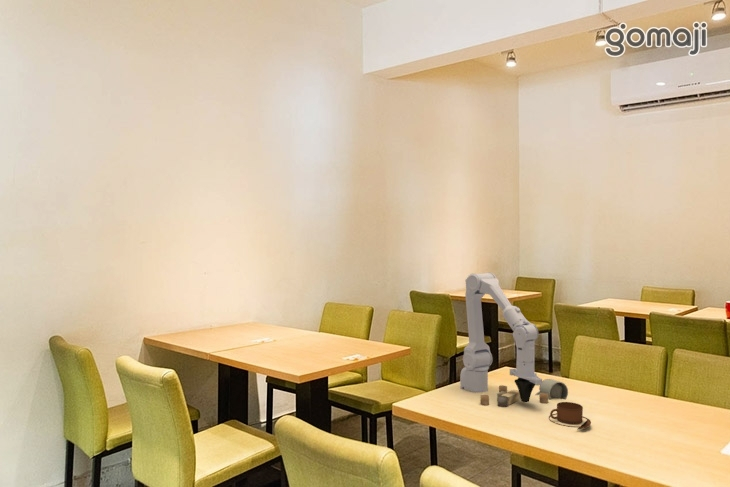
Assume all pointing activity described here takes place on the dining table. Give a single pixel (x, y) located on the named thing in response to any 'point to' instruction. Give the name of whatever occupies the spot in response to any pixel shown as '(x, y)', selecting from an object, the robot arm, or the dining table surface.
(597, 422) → the dining table surface
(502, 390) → the small brown blocks set
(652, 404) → the dining table surface
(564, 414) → the cup and saucer
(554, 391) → the ceramic mug
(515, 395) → the leg bar
